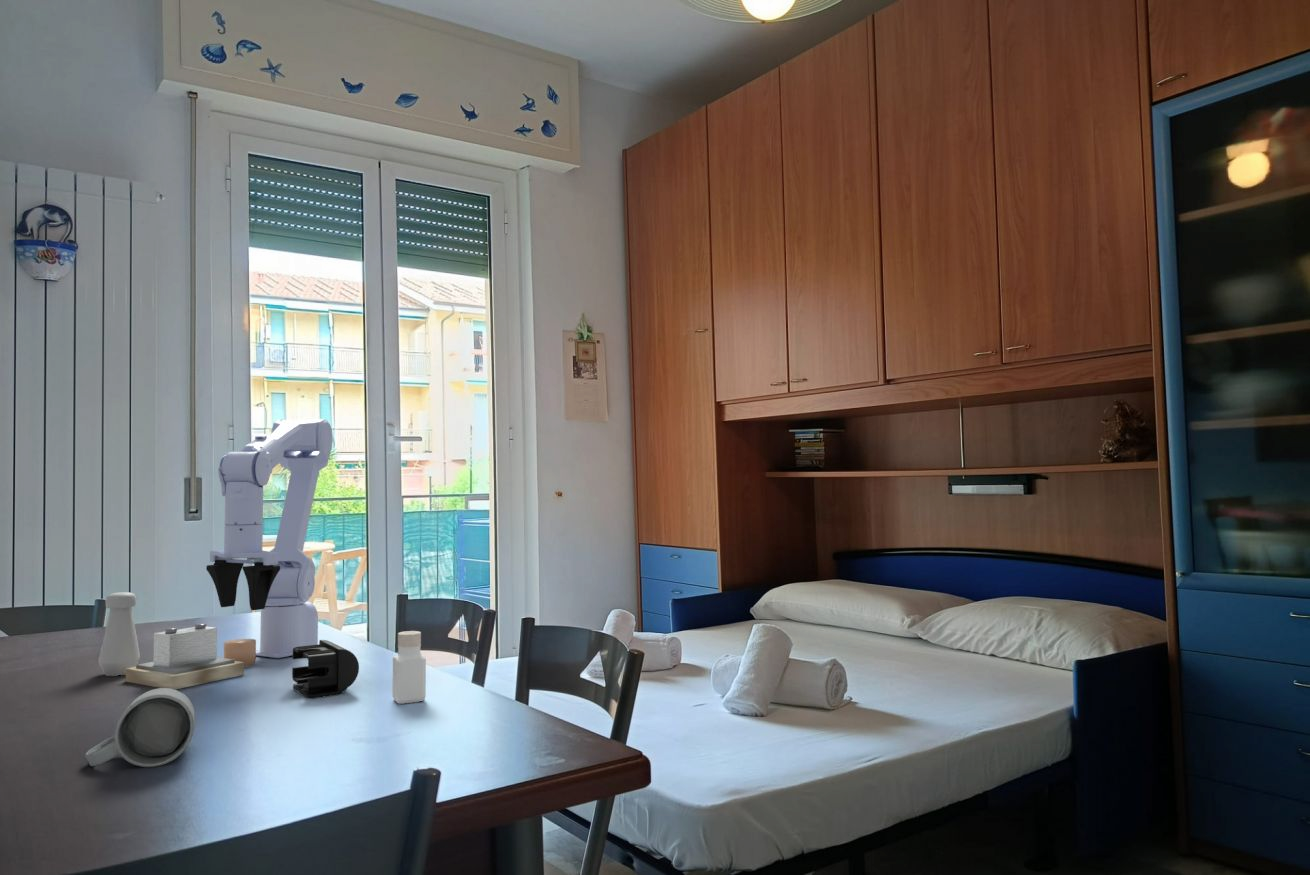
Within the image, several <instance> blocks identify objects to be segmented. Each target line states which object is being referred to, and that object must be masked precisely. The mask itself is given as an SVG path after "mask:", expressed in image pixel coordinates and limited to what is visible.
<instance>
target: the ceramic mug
mask: <svg viewBox="0 0 1310 875" xmlns="http://www.w3.org/2000/svg"><path fill="white" fill-rule="evenodd" d="M195 714H196V712H195V707H194V705H193V704H192V702H191V700H190V699H189V697H188V696H186V695H185V694H184V693H183V692H181V691H179V690H178V689H175V690H174V689H170V688H159V687H158V688H154V689H150V690H148V691H146V692H144V693H142V694H140V695H139V696H138V697H136V698H135V699H134V700H133V701H132V702H131V703H130V705H129V706H128V707H127V708H126V709H125V710H124V711H123V713H122V714H121V716H120V717H119V718H118V720H117V723H116V726H115V729H114V730H115V731H114V735H113V736H111V737H108V738H107V739H105V740H103V741H101V742H100V743H99V744H96V745H95V746H93V747H92V748H90V749H89V750H88V751H87V752H86V753H85V759H86V760H87V762H88V765H89V766H90V767H96V766H99V765H102V764H104V763H106V762H108V761H111V760H114V759H115V758H117V757H119V756H121V757H122V758H123V759H124V760H125V761H126V762H128V763H130V764H132V765H134V766H136V767H137V766H138V767H141V768H142V767H143V768H154V767H159V766H160V767H161V766H163V765H166V764H169V763H170V762H172V761H174V760H175V759H177V758H178V757H179V756H180V755H181V754H182V753H184V752H185V751H186V749H187V747H188V746H189V745H190V743H191V741H192V738H193V736H194V730H195V720H196V719H195V718H196V715H195Z"/></svg>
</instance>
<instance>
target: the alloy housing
mask: <svg viewBox="0 0 1310 875" xmlns="http://www.w3.org/2000/svg"><path fill="white" fill-rule="evenodd" d="M217 648H218V627H213V626H207V623H196V624H195V626H193V627H185V628H180V629H178V628H176V627H169V628H165V630H164V631H160V632H154V633H153V659H152V660H153V661H152V662H153V666H159V667H165V668H172V667H178V666H183V665H188V664H193V663H198V662H204V661H209V660H214V659H217V657H218V656H217V653H218V652H217V650H218V649H217Z"/></svg>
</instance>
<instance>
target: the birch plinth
mask: <svg viewBox="0 0 1310 875" xmlns="http://www.w3.org/2000/svg"><path fill="white" fill-rule="evenodd" d="M244 675H245V667H244V662H239V661H235V660H234V659H227V658H223V657H220V656H219V657H218V656H217V659H214V660H209V661H204V662H198V663H193V664H188V665H183V666H178V667H172V668H165V667H159V666H153V661H151V662H145V663H139V664H137V665H136V667H132V668H127V669H126V675H125V683H131V684H136V685H144V686H148V687H153V688H158V689H159V688H170V689H174V690H181V689H183V688H189V687H193V686H197V685H202V684H203V685H204V684H207V683H211V682H217V681H222V680H225V679H227V680H228V679H231V678H236V677H240V676H244Z"/></svg>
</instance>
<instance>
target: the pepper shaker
mask: <svg viewBox="0 0 1310 875" xmlns="http://www.w3.org/2000/svg"><path fill="white" fill-rule="evenodd" d="M421 646H422V631H418V630H409V631H408V630H407V631H405V630H404V631H400V632H398V633H397V648H398V649H397V651H398V652H397V653H398V654H397V655H394V656H393V657H392V698H393V700H394V701H395V702H396V703H397V704H399V705H405V703H406V704H411V703H412V704H414V703H420V702H419V701H422V702H423V700H424V701H425V699H426V698H427V697H426V688H427V687H426V684H427V682H426V681H427V679H426V678H427V676H426V674H427V673H426V672H427V671H426V670H427V669H426V668H427V659H426V657H425V655H424V654H423V653H421ZM413 702H414V703H413Z"/></svg>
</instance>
